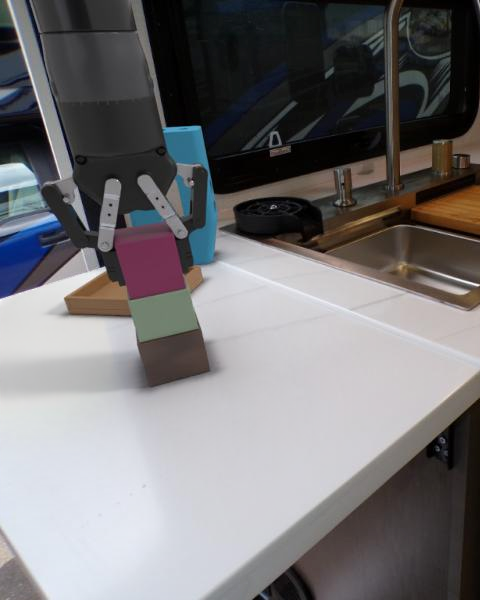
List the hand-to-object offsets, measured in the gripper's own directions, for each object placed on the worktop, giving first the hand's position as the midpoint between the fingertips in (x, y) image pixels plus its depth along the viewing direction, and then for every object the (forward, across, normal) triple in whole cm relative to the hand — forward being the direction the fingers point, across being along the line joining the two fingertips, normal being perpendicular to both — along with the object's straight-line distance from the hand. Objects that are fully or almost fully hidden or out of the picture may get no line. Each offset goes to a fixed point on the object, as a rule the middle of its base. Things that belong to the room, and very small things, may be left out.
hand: (154, 276), depth 52 cm
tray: (+10, +3, -21) cm, 24 cm away
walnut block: (+10, 0, 0) cm, 10 cm away
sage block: (+5, 0, 0) cm, 5 cm away
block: (+11, -5, -32) cm, 34 cm away
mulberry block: (+1, 0, 0) cm, 1 cm away
